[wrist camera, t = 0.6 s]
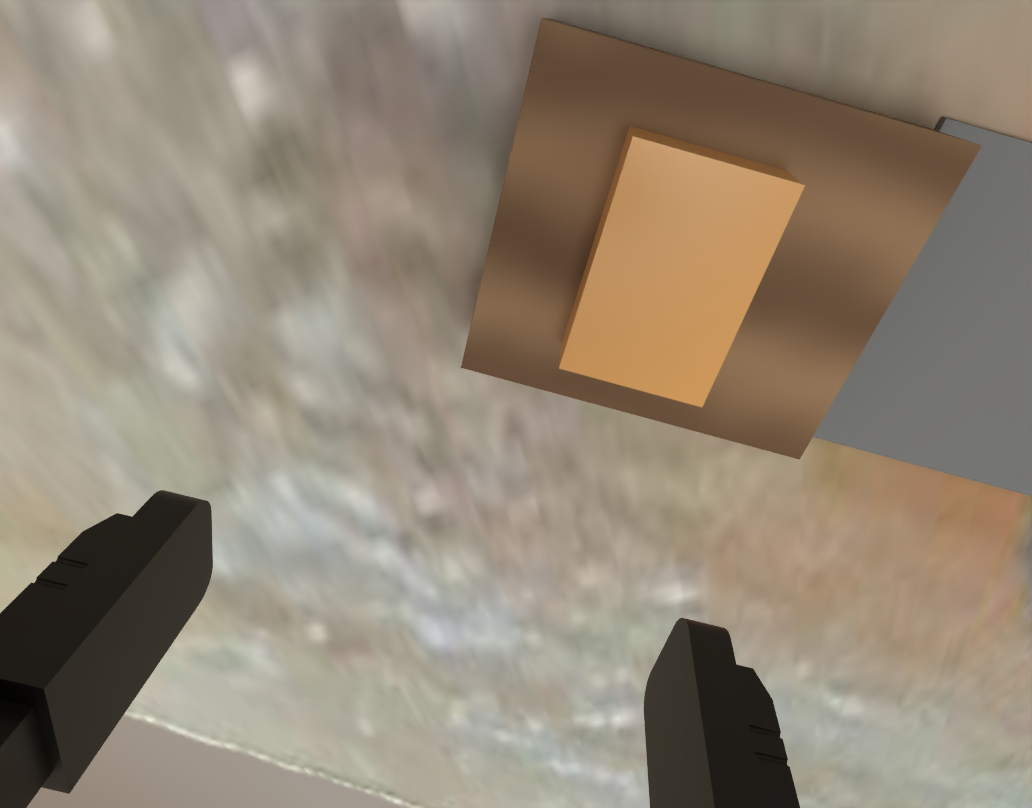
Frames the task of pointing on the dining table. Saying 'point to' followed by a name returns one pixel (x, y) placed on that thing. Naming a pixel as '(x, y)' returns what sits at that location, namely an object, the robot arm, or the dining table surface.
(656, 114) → the wooden block
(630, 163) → the orange rectangular block
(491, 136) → the dining table surface
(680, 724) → the robot arm
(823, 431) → the mat
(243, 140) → the dining table surface
